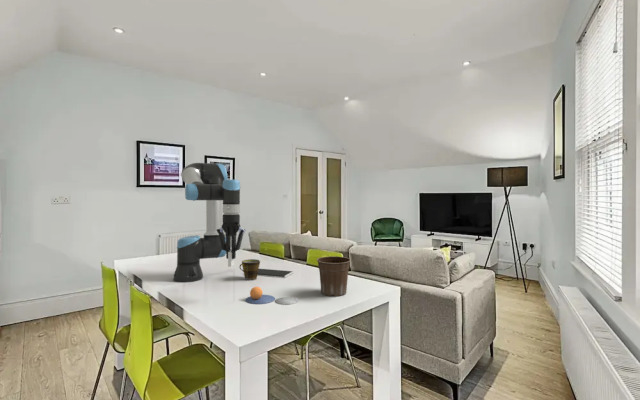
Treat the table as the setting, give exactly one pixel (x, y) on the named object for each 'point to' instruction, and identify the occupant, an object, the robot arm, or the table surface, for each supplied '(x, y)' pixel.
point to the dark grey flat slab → (274, 273)
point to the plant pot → (333, 275)
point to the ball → (256, 292)
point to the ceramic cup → (250, 268)
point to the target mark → (261, 299)
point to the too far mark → (286, 300)
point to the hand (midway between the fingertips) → (230, 265)
